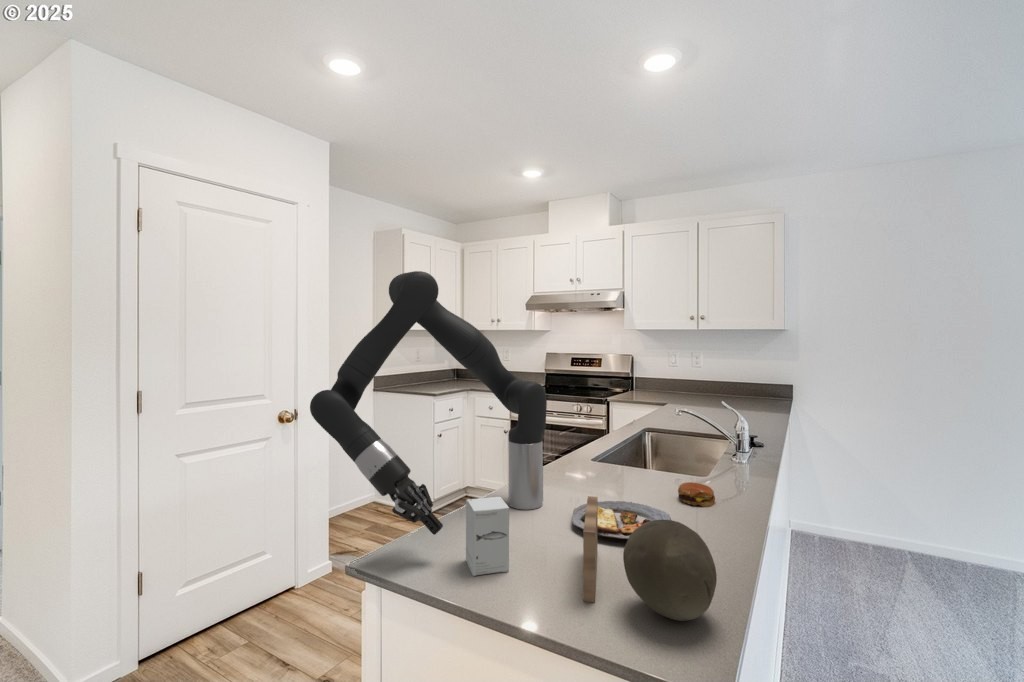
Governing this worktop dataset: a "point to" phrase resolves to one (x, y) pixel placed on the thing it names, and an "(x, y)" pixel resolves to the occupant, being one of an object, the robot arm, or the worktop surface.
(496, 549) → the supplement box
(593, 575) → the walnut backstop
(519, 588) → the worktop surface
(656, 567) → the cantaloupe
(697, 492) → the burger
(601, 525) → the food plate
